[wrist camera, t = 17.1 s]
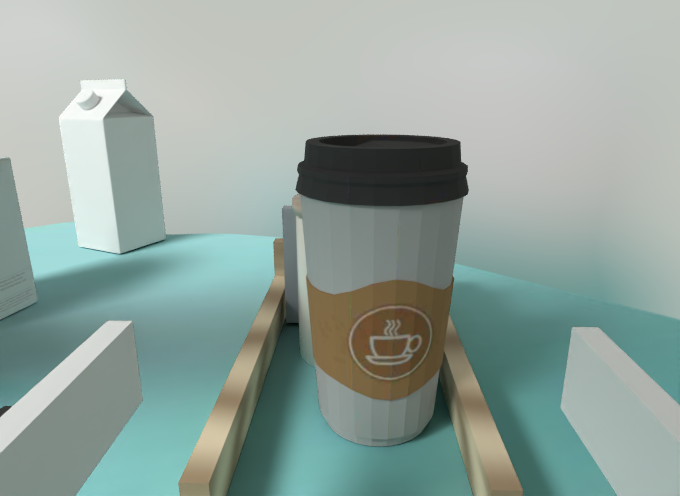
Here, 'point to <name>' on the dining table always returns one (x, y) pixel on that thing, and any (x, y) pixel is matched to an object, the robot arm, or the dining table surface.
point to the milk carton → (112, 168)
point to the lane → (248, 378)
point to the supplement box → (13, 249)
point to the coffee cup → (380, 276)
